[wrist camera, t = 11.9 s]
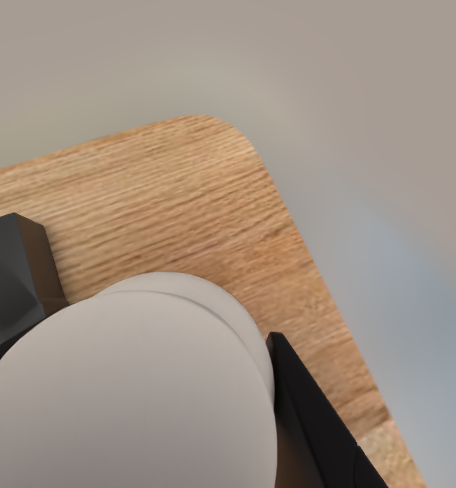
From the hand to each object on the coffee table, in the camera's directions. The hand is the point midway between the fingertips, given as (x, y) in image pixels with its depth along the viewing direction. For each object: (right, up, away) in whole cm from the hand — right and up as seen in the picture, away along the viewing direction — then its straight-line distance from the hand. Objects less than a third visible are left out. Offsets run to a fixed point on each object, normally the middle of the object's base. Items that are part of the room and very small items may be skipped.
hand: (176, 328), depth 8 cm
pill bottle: (-1, -3, +6) cm, 7 cm away
